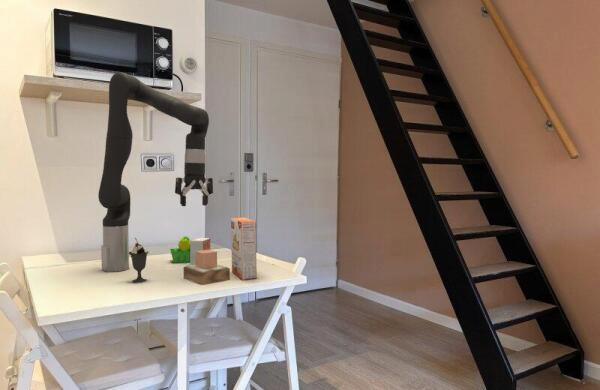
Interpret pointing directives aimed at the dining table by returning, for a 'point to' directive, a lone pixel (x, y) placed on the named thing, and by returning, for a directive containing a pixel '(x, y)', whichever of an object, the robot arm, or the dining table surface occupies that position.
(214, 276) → the block
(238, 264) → the cracker box
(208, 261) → the cube
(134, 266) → the sundae
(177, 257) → the fruit basket
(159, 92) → the robot arm
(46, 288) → the dining table surface
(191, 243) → the small box
